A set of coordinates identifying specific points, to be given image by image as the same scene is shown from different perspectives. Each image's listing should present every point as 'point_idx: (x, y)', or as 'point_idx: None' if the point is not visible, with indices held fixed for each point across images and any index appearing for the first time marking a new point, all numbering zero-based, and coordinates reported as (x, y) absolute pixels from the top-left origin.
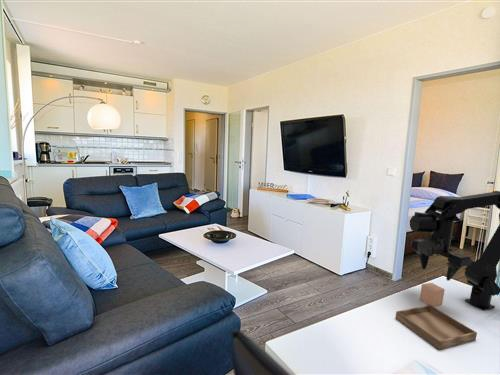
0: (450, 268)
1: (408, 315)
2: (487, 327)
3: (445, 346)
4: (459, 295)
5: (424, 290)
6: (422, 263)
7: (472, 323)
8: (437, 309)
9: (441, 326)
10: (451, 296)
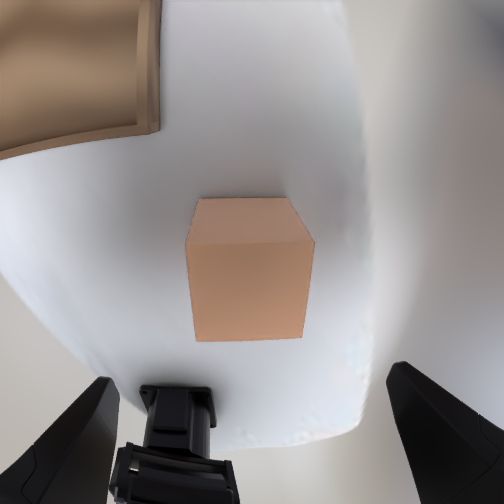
0: (6, 493)
1: None
2: (38, 297)
3: None
4: (251, 400)
5: (274, 226)
6: (436, 400)
7: (56, 268)
8: (92, 136)
9: (33, 76)
10: (255, 374)
